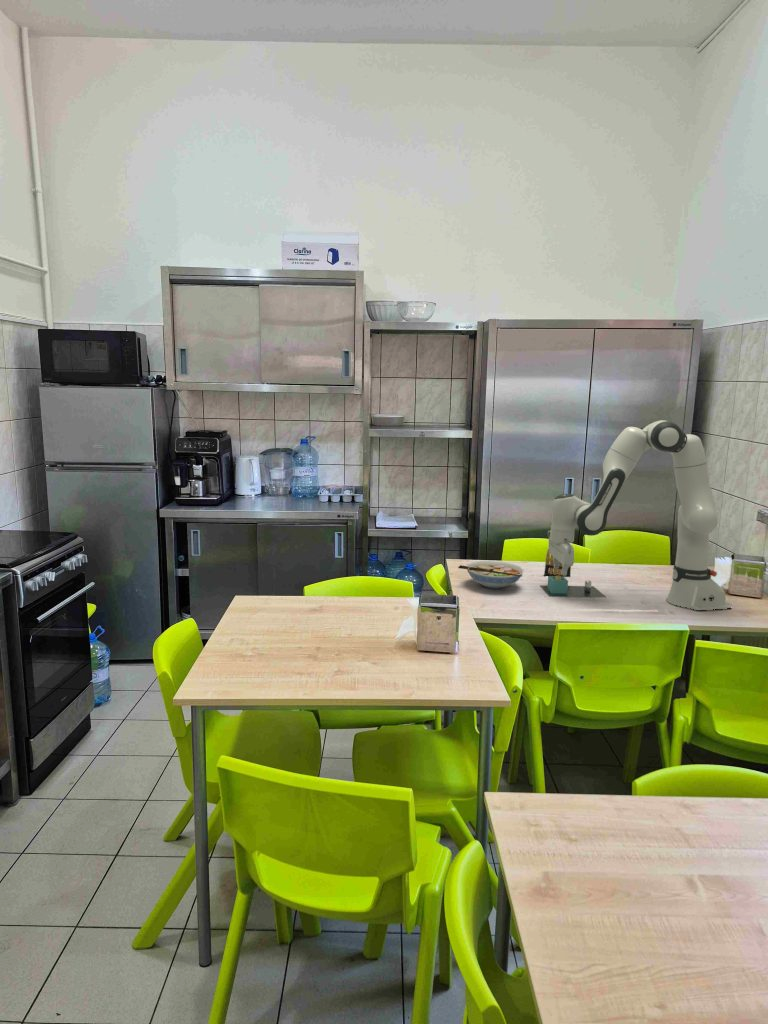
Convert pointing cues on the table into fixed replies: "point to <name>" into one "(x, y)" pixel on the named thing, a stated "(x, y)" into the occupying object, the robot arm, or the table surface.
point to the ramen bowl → (494, 573)
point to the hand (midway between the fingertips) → (560, 571)
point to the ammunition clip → (550, 567)
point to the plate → (576, 591)
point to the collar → (557, 585)
